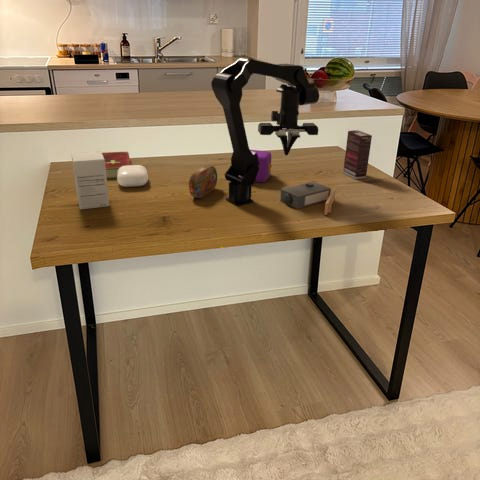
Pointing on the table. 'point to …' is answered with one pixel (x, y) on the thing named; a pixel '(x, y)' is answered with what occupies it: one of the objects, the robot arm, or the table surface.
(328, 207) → the side door
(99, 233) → the table surface
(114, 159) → the hardcover book
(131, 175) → the earbud case
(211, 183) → the tin
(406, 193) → the table surface
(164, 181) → the table surface
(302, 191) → the block
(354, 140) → the supplement box
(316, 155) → the table surface
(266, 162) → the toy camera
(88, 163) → the supplement box
